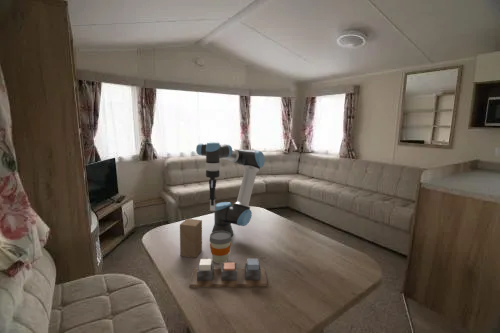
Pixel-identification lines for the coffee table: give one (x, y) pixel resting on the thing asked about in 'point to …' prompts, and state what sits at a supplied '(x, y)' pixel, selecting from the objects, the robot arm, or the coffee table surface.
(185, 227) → the wooden block
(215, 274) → the console
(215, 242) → the reusable coffee cup
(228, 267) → the terracotta button
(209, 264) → the cream button
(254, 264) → the slate button
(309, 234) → the coffee table surface
